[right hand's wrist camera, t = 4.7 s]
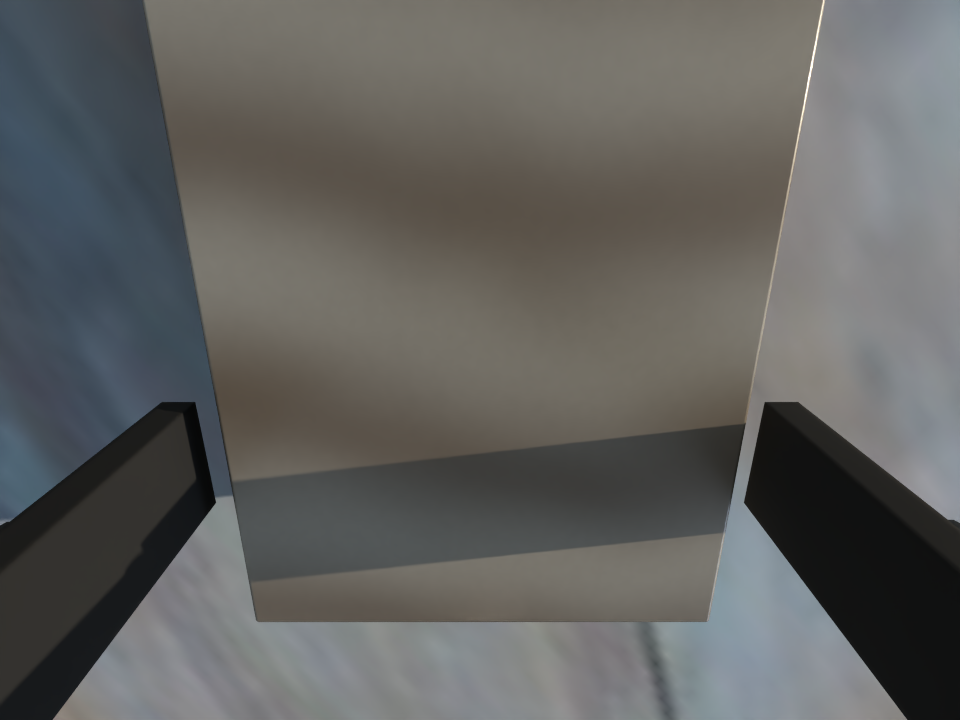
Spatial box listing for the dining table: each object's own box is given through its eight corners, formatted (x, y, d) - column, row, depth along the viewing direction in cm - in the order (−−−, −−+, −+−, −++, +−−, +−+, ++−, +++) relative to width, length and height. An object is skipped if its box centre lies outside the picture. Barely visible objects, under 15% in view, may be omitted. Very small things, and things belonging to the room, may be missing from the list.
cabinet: (264, -254, 14) (-3, -764, 6) (700, -253, 14) (971, -763, 6) (337, 454, 21) (255, 623, 13) (625, 454, 21) (709, 623, 13)
